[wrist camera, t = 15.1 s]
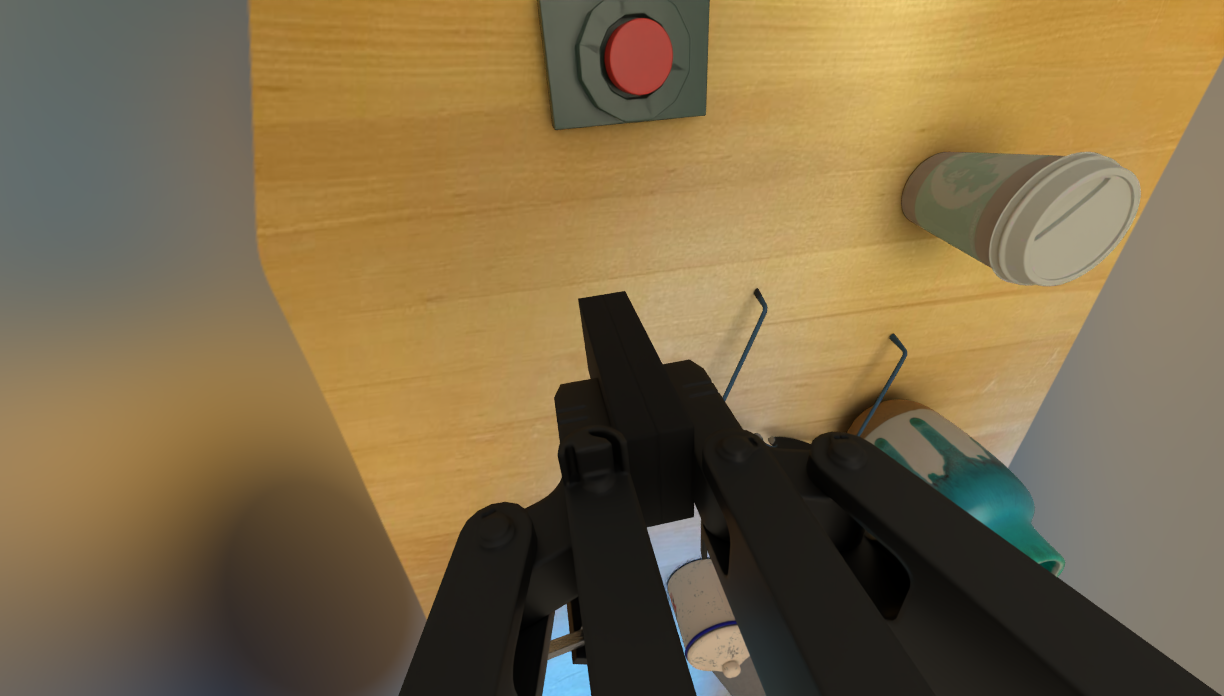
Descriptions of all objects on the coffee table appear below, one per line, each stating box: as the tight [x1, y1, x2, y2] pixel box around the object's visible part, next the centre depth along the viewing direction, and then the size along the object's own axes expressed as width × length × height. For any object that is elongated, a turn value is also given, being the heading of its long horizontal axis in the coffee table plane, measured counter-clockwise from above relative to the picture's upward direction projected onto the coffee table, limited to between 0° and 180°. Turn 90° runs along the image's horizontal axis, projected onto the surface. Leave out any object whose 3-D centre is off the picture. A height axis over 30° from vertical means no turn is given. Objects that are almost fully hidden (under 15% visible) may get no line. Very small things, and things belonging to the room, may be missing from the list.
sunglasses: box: [723, 288, 907, 450], centre depth 45 cm, size 17×15×5 cm
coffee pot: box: [712, 656, 766, 696], centre depth 64 cm, size 21×12×15 cm, turn 88°
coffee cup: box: [902, 152, 1141, 286], centre depth 34 cm, size 8×8×12 cm
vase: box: [847, 399, 1065, 577], centre depth 44 cm, size 11×11×19 cm
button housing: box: [537, 0, 710, 130], centre depth 28 cm, size 10×7×4 cm
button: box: [604, 18, 673, 95], centre depth 26 cm, size 4×4×2 cm
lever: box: [548, 627, 585, 660], centre depth 41 cm, size 12×5×2 cm, turn 65°
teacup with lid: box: [668, 559, 750, 678], centre depth 58 cm, size 12×9×12 cm
